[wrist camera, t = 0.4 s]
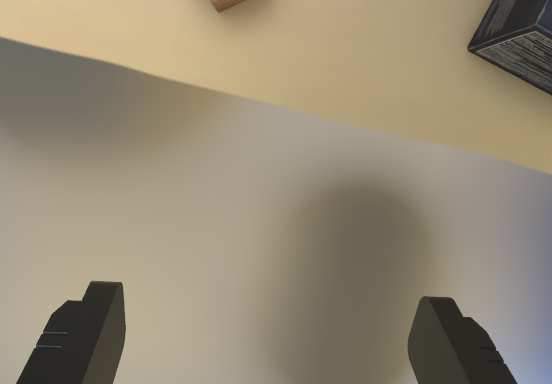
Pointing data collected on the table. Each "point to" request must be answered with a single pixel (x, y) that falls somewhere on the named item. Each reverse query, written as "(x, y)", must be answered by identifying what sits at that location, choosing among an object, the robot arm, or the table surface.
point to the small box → (518, 39)
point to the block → (224, 4)
